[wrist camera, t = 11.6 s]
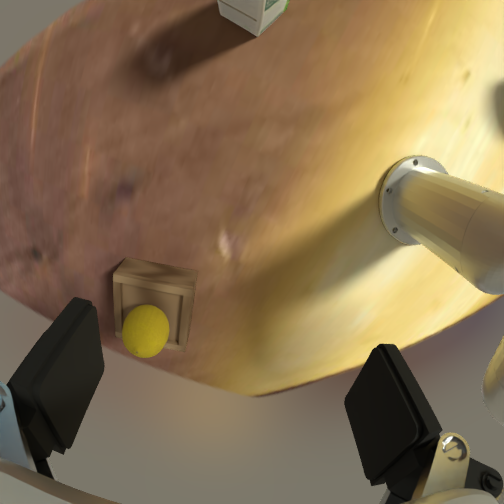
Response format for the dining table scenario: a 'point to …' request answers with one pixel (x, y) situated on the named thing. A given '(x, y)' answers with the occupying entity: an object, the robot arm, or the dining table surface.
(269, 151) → the dining table surface
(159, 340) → the lemon
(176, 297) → the brown wooden tray
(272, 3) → the syrup box
